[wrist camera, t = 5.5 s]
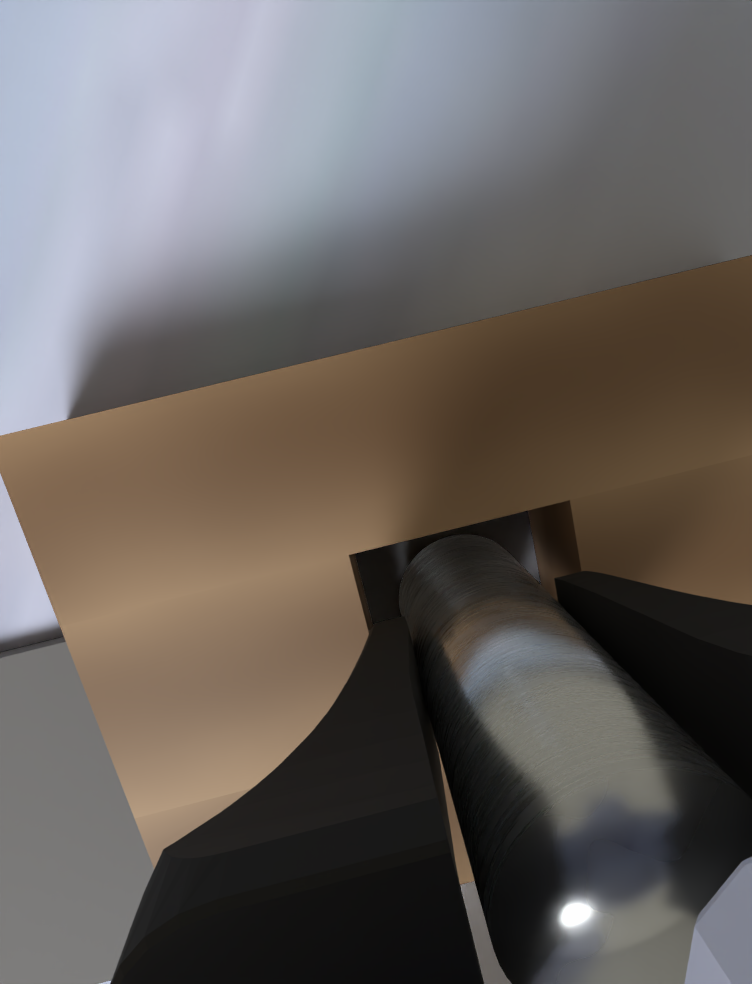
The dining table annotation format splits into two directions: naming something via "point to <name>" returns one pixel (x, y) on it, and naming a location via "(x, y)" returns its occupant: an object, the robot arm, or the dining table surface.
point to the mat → (61, 828)
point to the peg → (565, 779)
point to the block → (373, 512)
